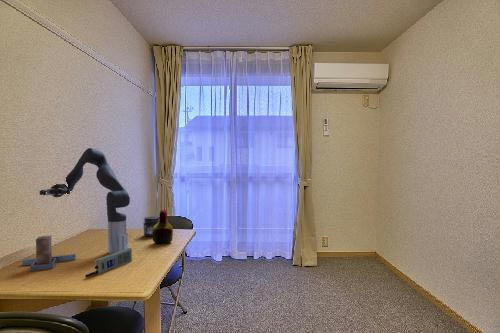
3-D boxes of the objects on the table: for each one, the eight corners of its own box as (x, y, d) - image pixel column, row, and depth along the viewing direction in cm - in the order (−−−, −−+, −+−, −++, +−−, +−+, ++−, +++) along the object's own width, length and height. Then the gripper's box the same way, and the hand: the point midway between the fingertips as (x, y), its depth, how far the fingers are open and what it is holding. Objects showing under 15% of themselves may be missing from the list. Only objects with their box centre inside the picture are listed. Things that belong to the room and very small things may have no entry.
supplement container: (147, 233, 206) (147, 215, 206) (162, 233, 205) (162, 216, 205) (140, 237, 196) (140, 219, 196) (156, 237, 195) (156, 219, 195)
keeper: (76, 258, 154) (75, 253, 154) (72, 266, 143) (72, 261, 143) (23, 264, 146) (23, 259, 145) (15, 273, 134) (15, 267, 134)
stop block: (51, 264, 145) (51, 235, 145) (49, 268, 141) (48, 238, 140) (39, 266, 143) (38, 236, 143) (36, 269, 139) (36, 239, 138)
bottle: (173, 241, 186) (173, 209, 186) (172, 244, 180) (172, 210, 180) (153, 242, 185) (153, 209, 184) (151, 245, 179) (151, 211, 178)
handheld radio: (133, 261, 150) (89, 279, 127) (128, 260, 152) (83, 279, 129) (132, 248, 150) (88, 264, 127) (127, 247, 152) (82, 263, 129)
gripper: (44, 184, 178) (37, 186, 163) (72, 183, 183) (67, 185, 168) (44, 197, 178) (37, 200, 163) (72, 196, 183) (67, 199, 168)
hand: (52, 193), depth 166 cm, fingers open, 8 cm apart
